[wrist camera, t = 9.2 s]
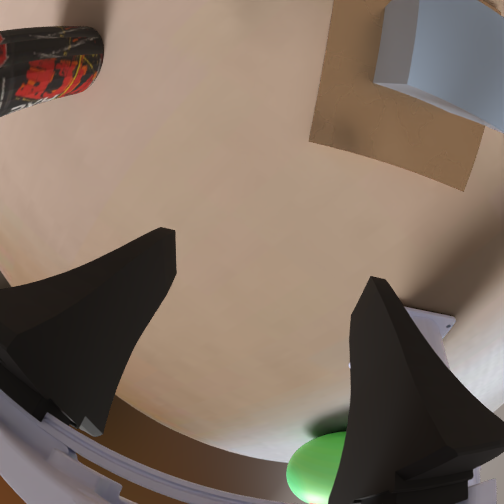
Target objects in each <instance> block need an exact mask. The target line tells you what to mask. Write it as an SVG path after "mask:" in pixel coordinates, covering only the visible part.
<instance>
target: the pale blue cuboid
mask: <svg viewBox="0 0 504 504" xmlns="http://www.w3.org/2000/svg"><path fill="white" fill-rule="evenodd" d="M373 83H375V84H378V85H381V86H384V87H387V88H390V89H393V90H396V91H399V92H402V93H404V94H407V95H410V96H412V97H415V98H417V99H420V100H422V101H425V102H427V103H429V104H432V105H434V106H436V107H439V108H441V109H443V110H445V111H447V112H450V113H452V114H455V115H458V116H461V117H464V118H467V119H469V120H472V121H475V122H477V123H480V124H482V125H485V126H487V127H490V128H492V129H494V130H497V131H499V132H501V133H503V134H504V17H502V16H501V15H499V14H498V13H497V12H495V11H494V10H492V9H491V8H489V7H487V6H486V5H484V4H483V3H481V2H480V1H478V0H391V2H390V3H389V4H388V5H387V6H386V7H385V13H384V20H383V28H382V34H381V41H380V47H379V53H378V59H377V64H376V70H375V75H374V80H373Z"/></svg>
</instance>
